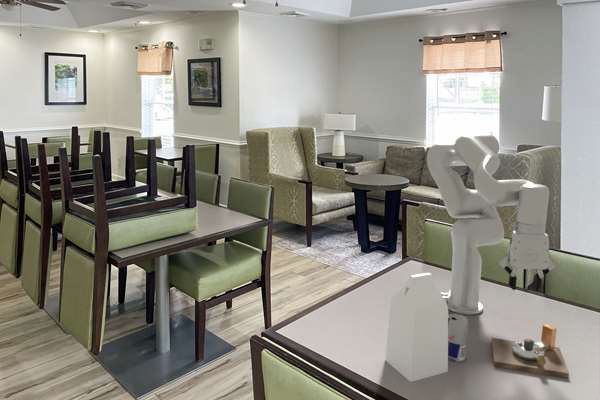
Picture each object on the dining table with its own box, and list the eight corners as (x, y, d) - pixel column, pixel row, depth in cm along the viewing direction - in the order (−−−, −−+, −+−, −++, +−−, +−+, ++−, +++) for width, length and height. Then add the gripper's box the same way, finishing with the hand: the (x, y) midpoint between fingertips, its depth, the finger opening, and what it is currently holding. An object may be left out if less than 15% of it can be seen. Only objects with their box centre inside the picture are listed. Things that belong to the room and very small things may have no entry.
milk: (410, 382, 124) (415, 285, 118) (385, 360, 134) (389, 271, 129) (447, 371, 128) (454, 278, 123) (420, 351, 139) (425, 265, 133)
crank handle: (530, 363, 129) (532, 342, 128) (505, 349, 136) (507, 329, 135) (562, 352, 135) (565, 332, 133) (537, 340, 142) (539, 320, 140)
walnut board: (493, 366, 131) (495, 347, 130) (491, 342, 144) (492, 325, 143) (568, 378, 125) (570, 359, 124) (558, 352, 138) (560, 334, 137)
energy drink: (442, 352, 138) (445, 313, 135) (460, 352, 138) (463, 313, 136) (449, 362, 133) (452, 322, 130) (468, 362, 133) (471, 321, 131)
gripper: (501, 230, 133) (496, 292, 137) (568, 233, 131) (560, 296, 135) (495, 223, 141) (489, 282, 144) (558, 226, 138) (551, 286, 142)
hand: (524, 288), depth 139 cm, fingers open, 5 cm apart
